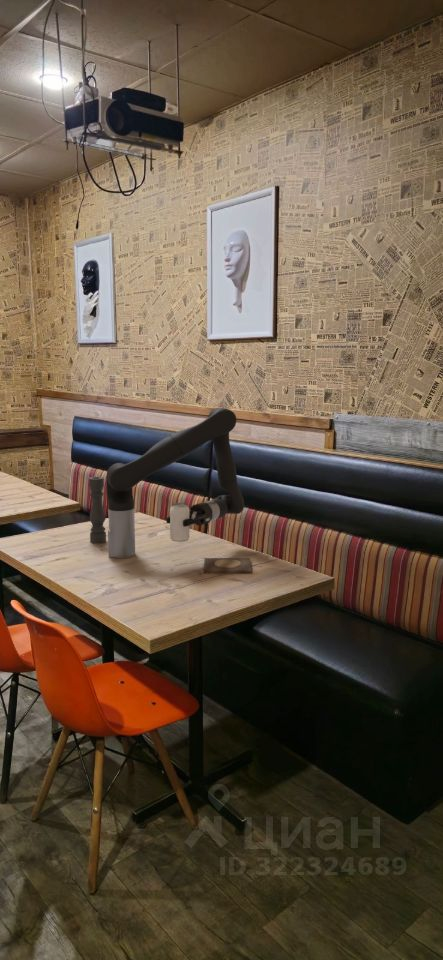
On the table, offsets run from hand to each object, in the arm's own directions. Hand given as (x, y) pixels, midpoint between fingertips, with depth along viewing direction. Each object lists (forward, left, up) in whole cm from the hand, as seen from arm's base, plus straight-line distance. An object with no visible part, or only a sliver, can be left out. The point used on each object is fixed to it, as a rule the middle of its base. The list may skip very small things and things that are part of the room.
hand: (175, 522), depth 223 cm
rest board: (+17, +3, -17) cm, 24 cm away
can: (+1, +2, -7) cm, 7 cm away
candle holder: (-33, +35, -17) cm, 51 cm away
